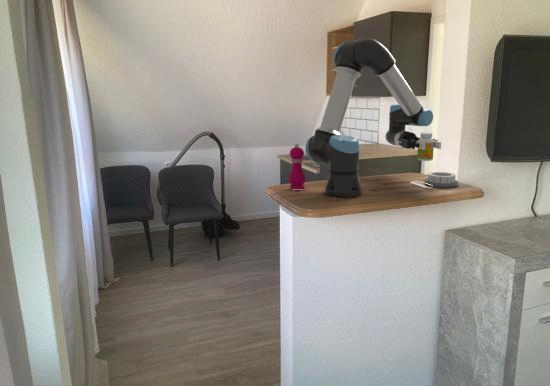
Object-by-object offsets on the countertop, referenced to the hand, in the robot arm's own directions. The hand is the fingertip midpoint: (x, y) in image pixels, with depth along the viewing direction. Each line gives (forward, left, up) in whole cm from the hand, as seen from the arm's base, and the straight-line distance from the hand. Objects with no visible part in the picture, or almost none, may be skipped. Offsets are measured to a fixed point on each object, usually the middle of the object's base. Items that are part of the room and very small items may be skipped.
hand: (432, 145), depth 169 cm
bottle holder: (+7, +12, -19) cm, 23 cm away
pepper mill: (-55, -3, -19) cm, 58 cm away
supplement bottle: (-2, +5, -7) cm, 8 cm away
